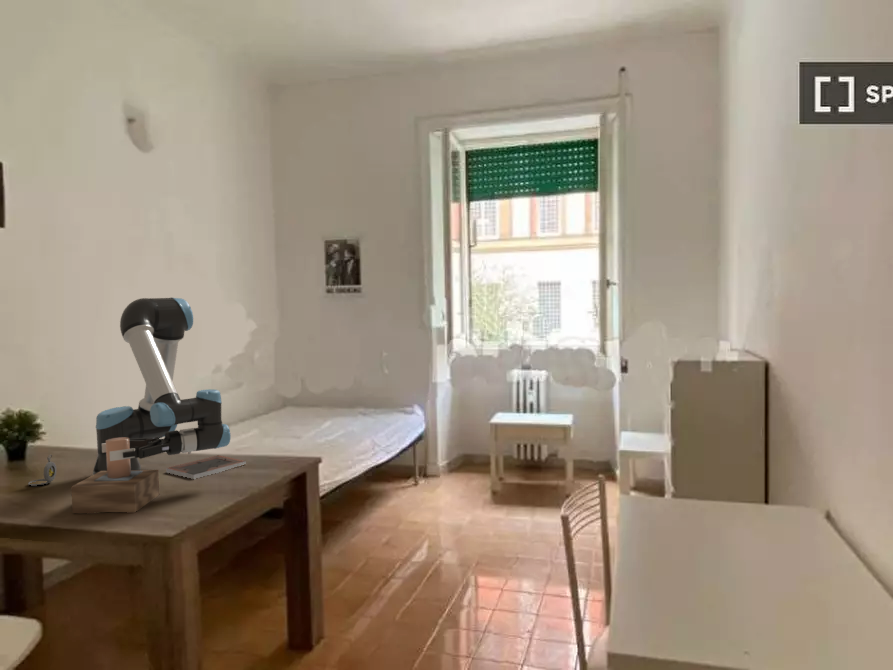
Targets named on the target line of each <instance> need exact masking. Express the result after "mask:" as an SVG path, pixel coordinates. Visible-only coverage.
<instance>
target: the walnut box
mask: <svg viewBox="0 0 893 670" xmlns="http://www.w3.org/2000/svg"><path fill="white" fill-rule="evenodd" d="M159 470H160V469H141V470H131V475H129V476H126V477H122V478H108V477H107V471H100V472H98V473H96V474H94V475H93V474H92V475H90V476H88V477H87V478H85V479H83V480H81V481H79V482H76V484H74V485H72V486H71V487H70V492H71V509H72V514H73V513H87V514H98V513H97V512H127V513H137V512H138V511H140V510H141V509H142V508H144V506H146V505H147V504H149V503H150V502H152V501H153V500H154V499H156V498H157V497H158V496H160V474H159V473H160V472H159ZM136 511H137V512H136ZM94 512H96V513H94Z"/></svg>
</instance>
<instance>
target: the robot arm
mask: <svg viewBox="0 0 893 670" xmlns="http://www.w3.org/2000/svg"><path fill="white" fill-rule="evenodd" d="M119 322H120V323H119V328H120V333H121V336H122V338H123V341H124V342H126V343H128V345H129V347H130V348H131V351H132V354H133V356H134V358H135V361H136V364H137V365H138V369H139V371H140V372H141V375H142V378H143V379H144V382H145V389H144V396H143V398H142V399H140V400H139V402H138V406H137V408H136V409H135V408H133V407H132V406H129V405H128V406H127V405H125V406H119V407H118V406H117V407H112V408H108V409H105V410H103V411H101V412H99V413H98V414H97V415H96V419H95V420H96V421H95V423H96V425H95V430H96V444H97V445H96V447H97V448H96V449H97V457H96V461H95V464H94V467H93V471H92V475H94V474H96V473H98V472H100V471H107V457H106V440H108V439H112V438H121V437H126V438H129V444H130V449H125V450H117V451H110V461H115V460H122V459H129V458H130V465H131V470H142V466H141V463H140V460H141V459H145V458H149V457H151V456H156V455H159V454H164V453H166V454H167V455H168V456H173V455H174V456H175V455H179V454H184V453H185V454H186V453H187V454H192V452H198V451H199V452H200V451H206V450H207V451H208V450H213V449H220V448H223V447H227V446H228V445H229V444H230V443H231V429H230V427H229V425H228V424H226V423H223V421H222V420H223V419H222V396H221V391H220V390H218V389H201V390H198V391H196V393H195V394H196V396H195V397H192V398H185V399H183V398H182V399H181V398H180V396H179V393H178V391H177V389H176V387H175V384H174V382H173V380H174V375H175V374H174V373H175V365H176V359H177V353H178V346H179V342H180V341H182V340H183V339H184V337H185V332H187V331H190V330H191V328H192V327H193V325H194V314H193V310H192V308H191V306H190V304H189V302H188V301H187V300H185V299H184V298H179V297H157V298H156V297H155V298H154V297H153V298H152V297H151V298H149V297H148V298H146V297H144V298H138V299H136V300H133V301H131V302H130V303H129V304H127V306H126V307H125V308H124V309H123V312H122V313H121V316H120V321H119ZM194 422H197V427H191V428H184V429H179V430H177V427H178V425H182V424H187V423H194ZM139 459H140V460H139Z"/></svg>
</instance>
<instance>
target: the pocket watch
mask: <svg viewBox="0 0 893 670" xmlns="http://www.w3.org/2000/svg"><path fill="white" fill-rule="evenodd" d="M52 457H53V455H52V454H49V455H48V456H47V463H46V464H45V466H44V469H43V478H39V479H33V480H30V481H29V482H28V483H27V485H28V486H29V485H31V486H30V487H38V486H37V485H43V486H45V485H44V484H46V485H49V484H50V483H52V482H53V481H54V480H55V479H56V476H57V472H58V470H57V469H58V468H57V465H56V463H55V461H54V462H53V461H51V459H52ZM36 481H47V482H46V483H41V484H30V483H32V482H36ZM48 483H49V484H48Z"/></svg>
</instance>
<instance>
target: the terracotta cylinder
mask: <svg viewBox="0 0 893 670" xmlns="http://www.w3.org/2000/svg"><path fill="white" fill-rule="evenodd" d="M125 449H130V444H129V438H126V437H121V438H112V439H108V440H106V457H107V477H108V478H122V477H126V476H129V475H131V465H130V458H129V459H122V460H115V461H110V451H117V450H125Z"/></svg>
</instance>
